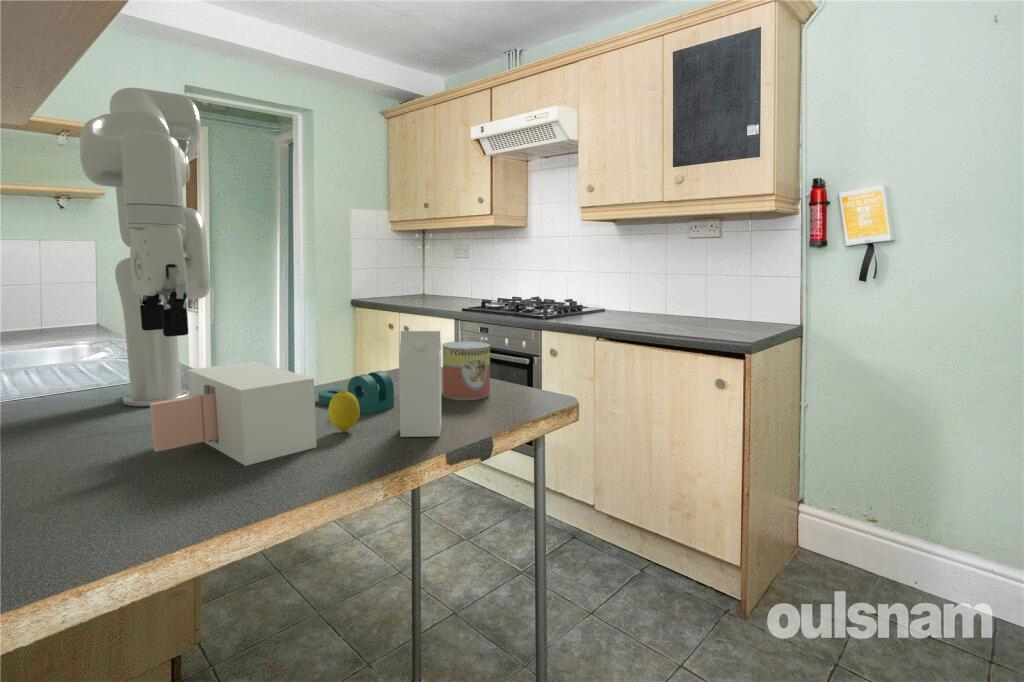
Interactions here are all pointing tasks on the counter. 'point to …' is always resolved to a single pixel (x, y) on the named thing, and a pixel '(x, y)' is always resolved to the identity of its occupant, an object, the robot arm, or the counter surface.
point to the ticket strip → (184, 421)
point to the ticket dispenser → (258, 410)
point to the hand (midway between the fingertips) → (164, 332)
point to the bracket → (366, 392)
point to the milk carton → (420, 383)
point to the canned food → (466, 370)
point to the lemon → (344, 410)
